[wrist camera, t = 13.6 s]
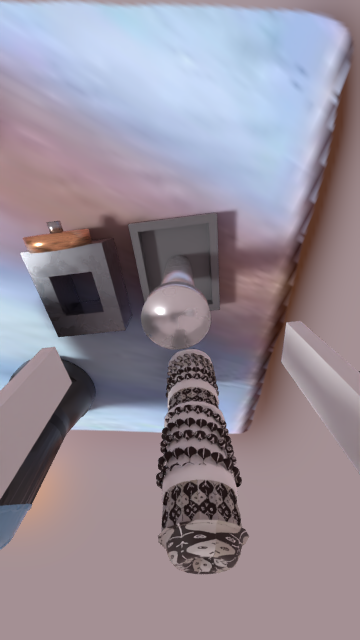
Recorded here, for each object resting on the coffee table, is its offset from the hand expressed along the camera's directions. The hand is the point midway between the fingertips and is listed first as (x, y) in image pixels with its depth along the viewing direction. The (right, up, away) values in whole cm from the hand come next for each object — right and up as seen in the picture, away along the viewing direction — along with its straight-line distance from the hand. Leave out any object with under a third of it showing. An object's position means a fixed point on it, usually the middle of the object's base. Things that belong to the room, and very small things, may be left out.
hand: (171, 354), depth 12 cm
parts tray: (0, +10, +19) cm, 21 cm away
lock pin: (0, +9, +18) cm, 20 cm away
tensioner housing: (-13, +9, +19) cm, 25 cm away
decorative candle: (+2, -7, +28) cm, 28 cm away
